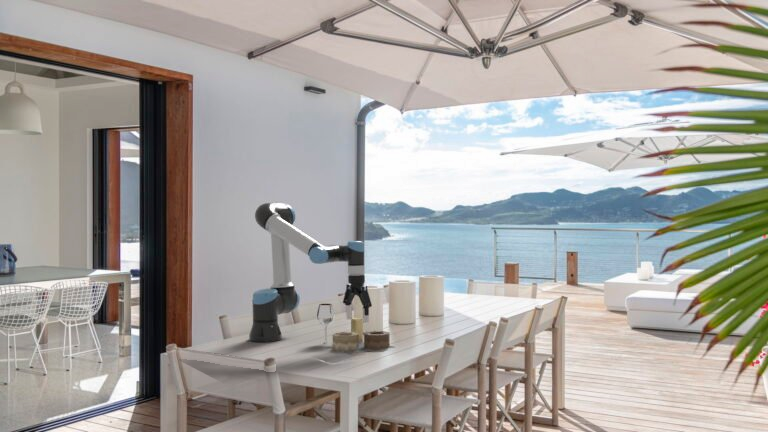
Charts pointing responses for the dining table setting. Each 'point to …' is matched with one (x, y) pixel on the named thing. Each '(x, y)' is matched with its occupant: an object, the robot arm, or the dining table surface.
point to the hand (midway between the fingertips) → (357, 320)
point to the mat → (360, 349)
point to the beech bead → (345, 341)
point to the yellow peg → (357, 327)
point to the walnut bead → (376, 339)
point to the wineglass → (325, 316)
